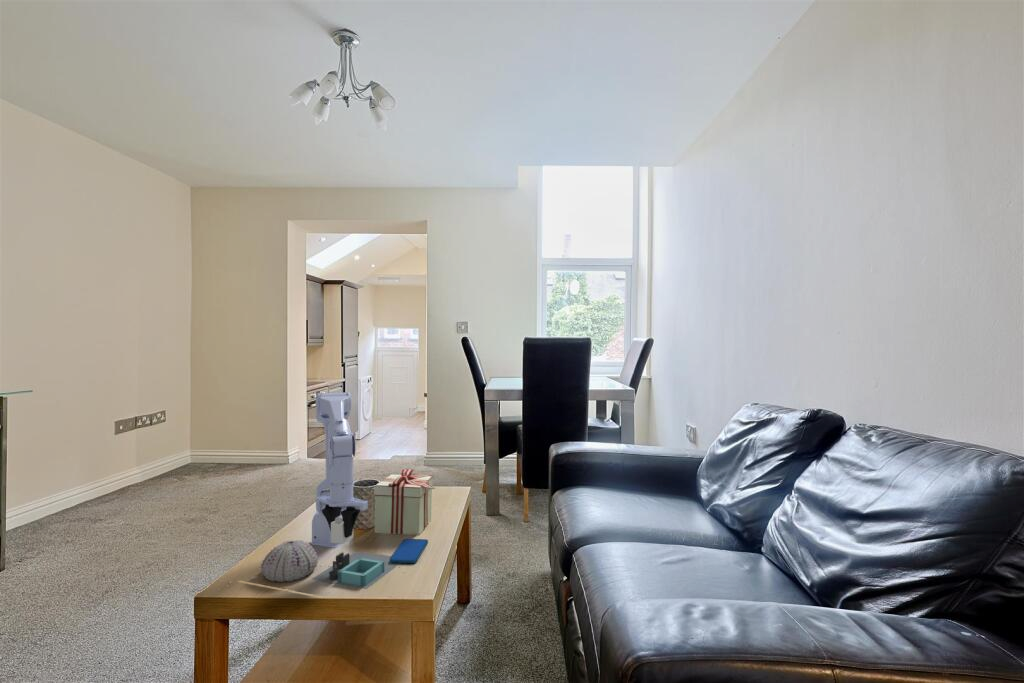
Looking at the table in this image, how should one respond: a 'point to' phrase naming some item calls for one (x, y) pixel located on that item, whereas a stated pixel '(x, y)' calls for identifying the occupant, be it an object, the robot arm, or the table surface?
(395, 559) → the smartphone
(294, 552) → the sea urchin shell
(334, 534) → the connector plug
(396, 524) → the gift box
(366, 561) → the board
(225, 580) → the table surface
